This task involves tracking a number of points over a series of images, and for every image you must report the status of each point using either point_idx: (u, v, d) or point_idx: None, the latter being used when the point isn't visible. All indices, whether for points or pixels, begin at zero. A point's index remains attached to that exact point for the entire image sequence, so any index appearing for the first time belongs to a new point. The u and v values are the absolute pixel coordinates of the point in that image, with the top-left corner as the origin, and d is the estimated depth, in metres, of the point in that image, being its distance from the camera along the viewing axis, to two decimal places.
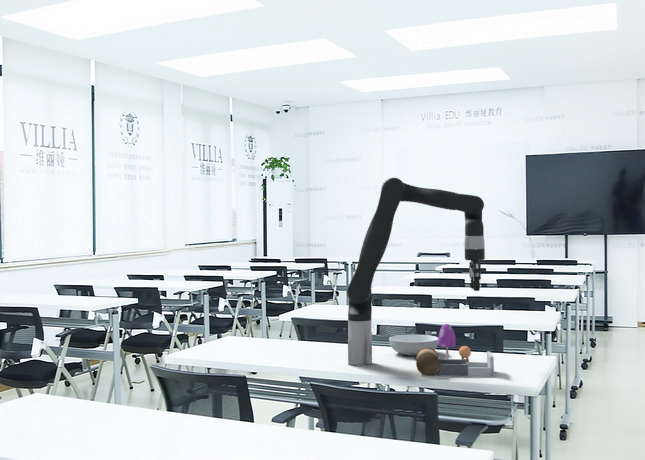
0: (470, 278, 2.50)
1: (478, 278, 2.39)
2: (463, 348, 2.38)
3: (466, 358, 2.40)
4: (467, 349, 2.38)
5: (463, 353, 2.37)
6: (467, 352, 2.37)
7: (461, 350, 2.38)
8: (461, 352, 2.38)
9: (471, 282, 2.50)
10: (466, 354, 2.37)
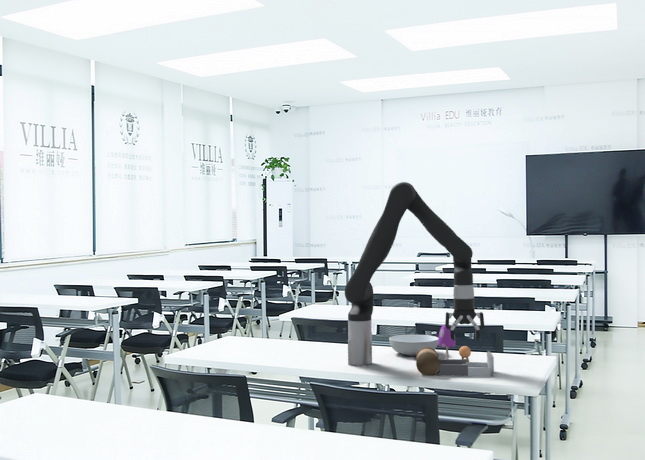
0: (452, 329, 2.38)
1: None
2: (463, 348, 2.38)
3: (466, 358, 2.40)
4: (467, 349, 2.38)
5: (463, 353, 2.37)
6: (467, 352, 2.37)
7: (461, 350, 2.38)
8: (461, 352, 2.38)
9: None
10: (466, 354, 2.37)
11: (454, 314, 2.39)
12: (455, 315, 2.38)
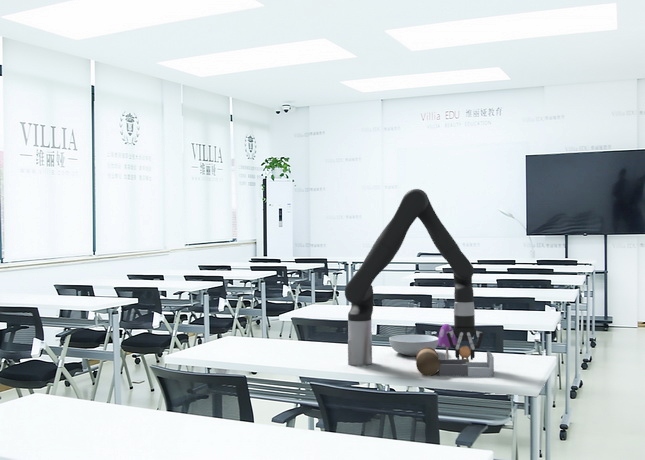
0: (457, 348, 2.38)
1: None
2: (463, 348, 2.38)
3: (466, 358, 2.40)
4: (467, 349, 2.38)
5: (463, 353, 2.37)
6: (467, 352, 2.37)
7: (461, 350, 2.38)
8: (461, 352, 2.38)
9: None
10: (466, 354, 2.37)
11: (454, 331, 2.39)
12: (455, 332, 2.39)
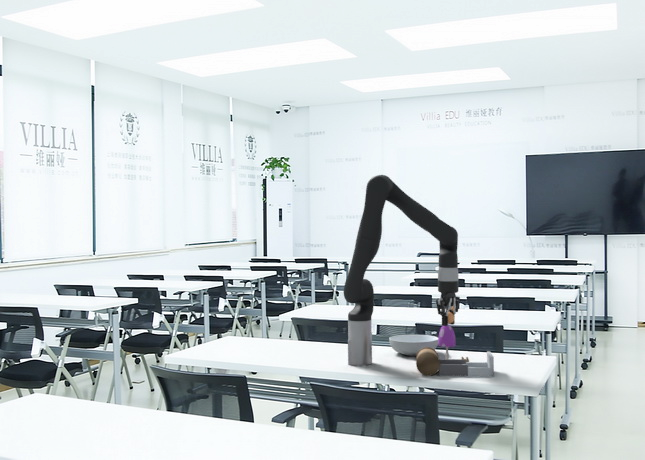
0: (447, 315, 2.35)
1: None
2: (450, 314, 2.37)
3: (466, 358, 2.40)
4: None
5: (452, 319, 2.36)
6: None
7: (449, 316, 2.36)
8: (450, 318, 2.36)
9: (447, 319, 2.36)
10: (453, 319, 2.37)
11: (445, 298, 2.35)
12: (446, 298, 2.35)
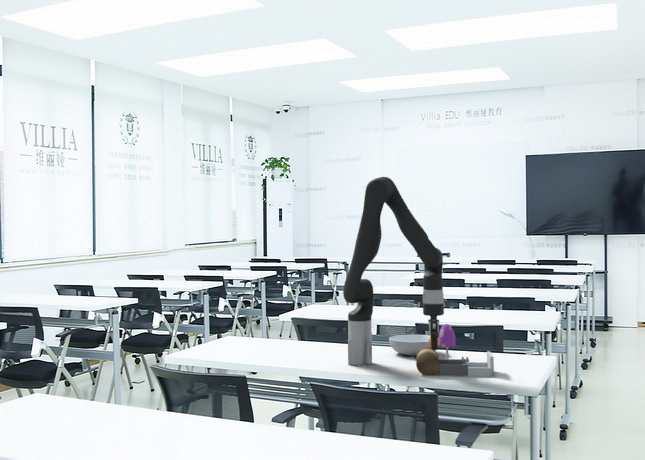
0: (437, 338, 2.30)
1: None
2: None
3: (466, 358, 2.40)
4: None
5: None
6: None
7: (438, 339, 2.32)
8: (438, 341, 2.31)
9: (436, 342, 2.31)
10: None
11: (436, 321, 2.29)
12: (436, 321, 2.30)
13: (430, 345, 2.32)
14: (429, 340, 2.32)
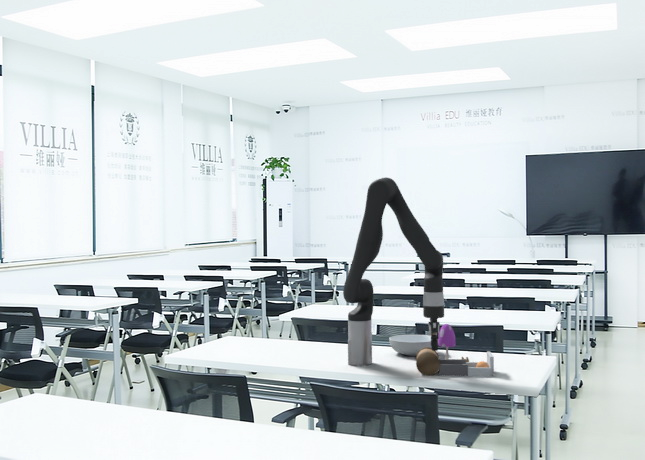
0: (437, 339, 2.29)
1: None
2: None
3: (466, 358, 2.40)
4: None
5: None
6: None
7: None
8: None
9: None
10: None
11: None
12: None
13: (483, 362, 2.30)
14: (487, 366, 2.29)
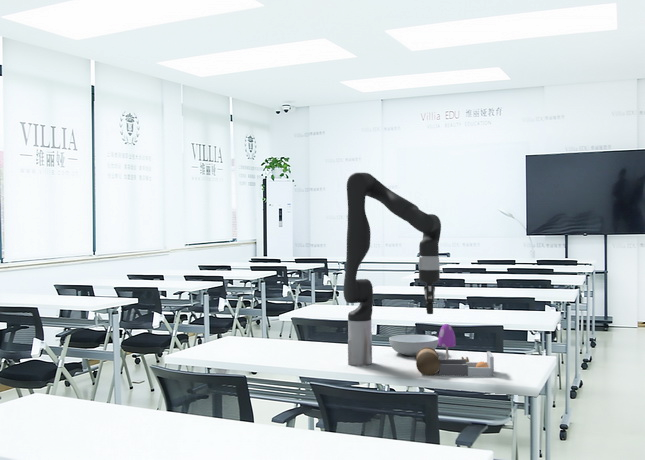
0: None
1: None
2: None
3: (466, 358, 2.40)
4: None
5: None
6: None
7: None
8: None
9: None
10: None
11: (432, 286, 2.30)
12: None
13: (482, 363, 2.29)
14: (487, 367, 2.29)
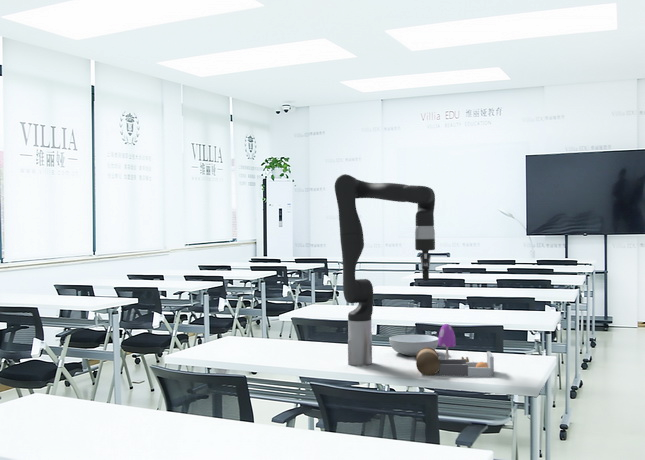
0: (428, 270, 2.42)
1: None
2: None
3: (466, 358, 2.40)
4: None
5: None
6: None
7: None
8: None
9: None
10: None
11: None
12: None
13: (482, 364, 2.28)
14: (486, 367, 2.28)
